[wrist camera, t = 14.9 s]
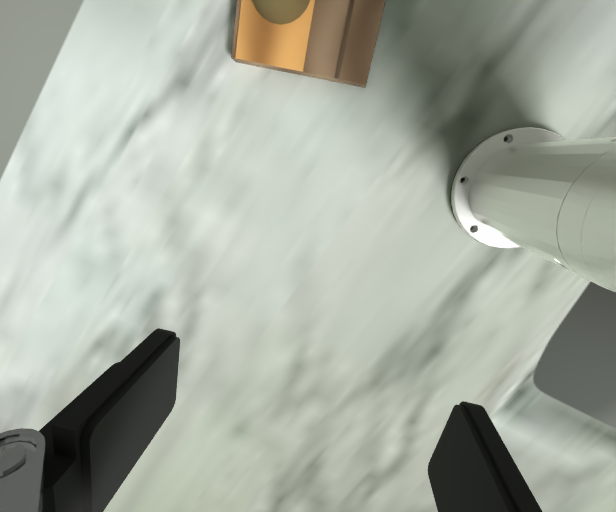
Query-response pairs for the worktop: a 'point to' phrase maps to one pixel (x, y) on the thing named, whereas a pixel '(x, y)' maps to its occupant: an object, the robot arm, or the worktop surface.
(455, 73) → the worktop surface
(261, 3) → the cork
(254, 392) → the worktop surface
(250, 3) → the board
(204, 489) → the worktop surface
